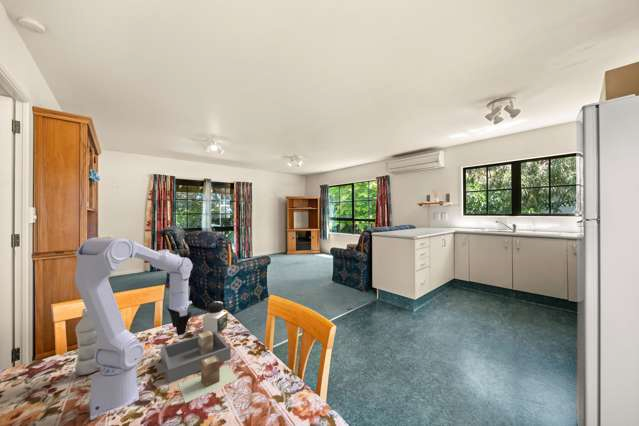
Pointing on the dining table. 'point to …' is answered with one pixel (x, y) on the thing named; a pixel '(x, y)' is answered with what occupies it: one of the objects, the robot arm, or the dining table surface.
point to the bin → (190, 356)
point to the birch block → (205, 342)
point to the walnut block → (210, 371)
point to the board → (197, 389)
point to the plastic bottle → (86, 345)
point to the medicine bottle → (215, 318)
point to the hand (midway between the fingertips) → (178, 330)
